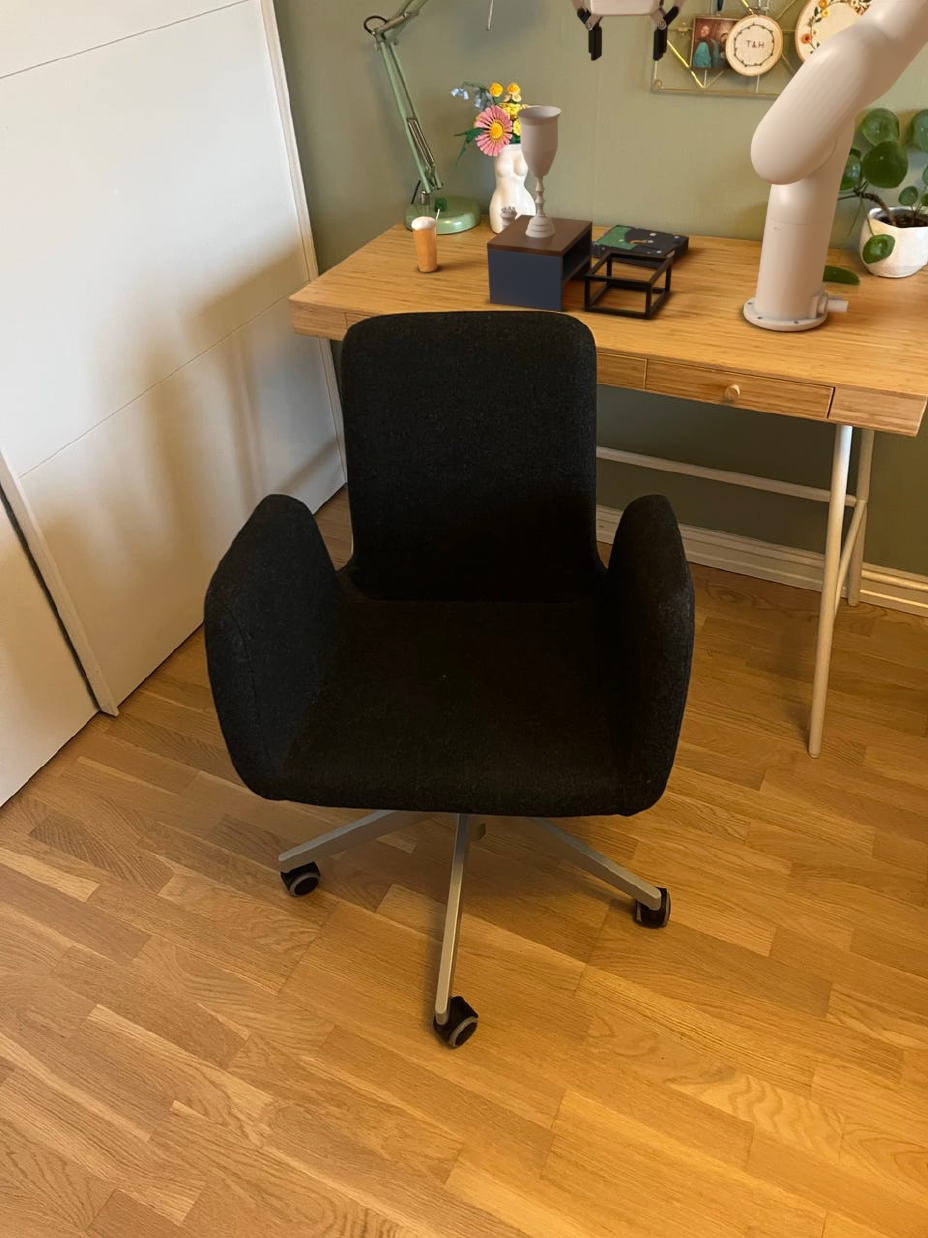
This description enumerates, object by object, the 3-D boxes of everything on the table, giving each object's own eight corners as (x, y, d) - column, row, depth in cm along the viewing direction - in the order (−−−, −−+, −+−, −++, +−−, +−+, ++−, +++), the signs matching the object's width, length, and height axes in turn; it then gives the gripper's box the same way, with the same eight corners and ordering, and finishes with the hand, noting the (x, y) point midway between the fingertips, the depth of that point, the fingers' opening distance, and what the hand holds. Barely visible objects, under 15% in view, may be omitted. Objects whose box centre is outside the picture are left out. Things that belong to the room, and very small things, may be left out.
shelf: (591, 279, 167) (592, 220, 161) (561, 312, 158) (560, 251, 152) (523, 271, 172) (521, 214, 166) (489, 302, 163) (486, 242, 157)
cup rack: (670, 292, 161) (672, 257, 157) (649, 319, 154) (651, 283, 150) (607, 285, 165) (608, 250, 161) (583, 311, 158) (584, 275, 154)
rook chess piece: (516, 246, 182) (514, 202, 176) (525, 254, 178) (524, 209, 173) (494, 251, 181) (492, 207, 175) (503, 259, 177) (501, 214, 172)
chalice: (558, 239, 155) (557, 118, 144) (516, 239, 157) (512, 119, 145) (564, 223, 161) (563, 105, 149) (523, 223, 162) (520, 106, 150)
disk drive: (688, 251, 174) (616, 237, 181) (690, 235, 172) (617, 222, 179) (662, 271, 168) (588, 256, 175) (663, 255, 166) (589, 241, 173)
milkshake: (448, 269, 175) (444, 212, 169) (421, 275, 174) (415, 218, 168) (439, 261, 179) (435, 205, 172) (412, 267, 177) (406, 211, 171)
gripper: (562, -75, 135) (564, 64, 146) (684, -81, 128) (676, 64, 139) (580, -82, 140) (581, 53, 151) (698, -88, 133) (690, 53, 144)
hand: (626, 58), depth 145 cm, fingers open, 9 cm apart
